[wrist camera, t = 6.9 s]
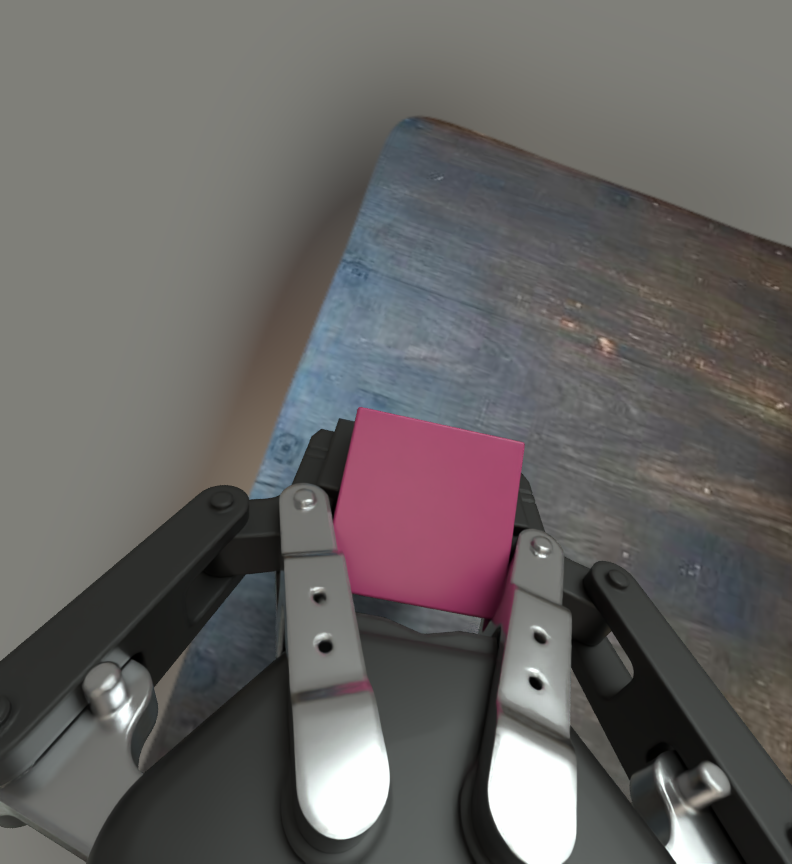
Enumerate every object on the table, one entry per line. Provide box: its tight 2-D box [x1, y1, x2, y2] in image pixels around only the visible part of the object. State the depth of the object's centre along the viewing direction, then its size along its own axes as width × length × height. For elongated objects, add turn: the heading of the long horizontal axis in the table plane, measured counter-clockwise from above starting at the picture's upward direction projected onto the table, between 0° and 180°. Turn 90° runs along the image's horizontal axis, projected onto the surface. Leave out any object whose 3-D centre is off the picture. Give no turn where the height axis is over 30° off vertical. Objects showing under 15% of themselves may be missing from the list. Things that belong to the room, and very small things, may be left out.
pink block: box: [333, 407, 525, 620], centre depth 14 cm, size 5×5×8 cm
